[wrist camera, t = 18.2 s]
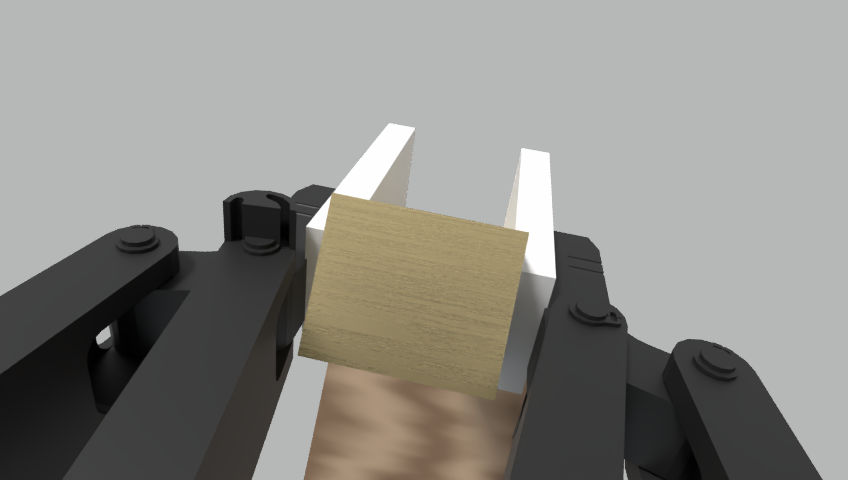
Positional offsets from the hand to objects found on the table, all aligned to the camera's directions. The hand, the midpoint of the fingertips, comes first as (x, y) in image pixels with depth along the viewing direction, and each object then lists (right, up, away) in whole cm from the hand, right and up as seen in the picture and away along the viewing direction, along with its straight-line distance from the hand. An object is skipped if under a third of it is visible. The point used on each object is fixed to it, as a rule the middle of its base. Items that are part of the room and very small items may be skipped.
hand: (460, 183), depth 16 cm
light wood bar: (0, -4, +5) cm, 7 cm away
